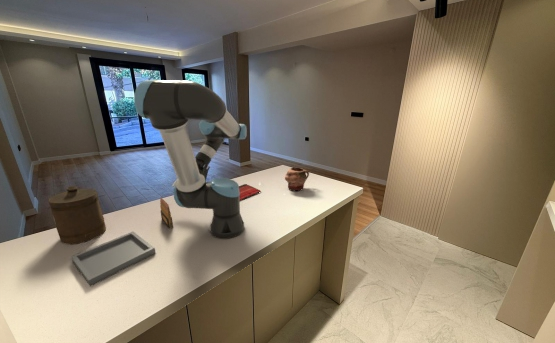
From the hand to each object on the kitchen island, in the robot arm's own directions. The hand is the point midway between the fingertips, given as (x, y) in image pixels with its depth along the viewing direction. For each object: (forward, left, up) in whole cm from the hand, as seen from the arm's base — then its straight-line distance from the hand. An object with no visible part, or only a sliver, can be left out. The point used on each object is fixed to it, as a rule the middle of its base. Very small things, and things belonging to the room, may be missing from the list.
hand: (181, 190), depth 108 cm
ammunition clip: (-1, +9, -14) cm, 17 cm away
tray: (-9, +33, -13) cm, 37 cm away
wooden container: (+18, +35, -14) cm, 42 cm away
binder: (-3, -39, -14) cm, 41 cm away
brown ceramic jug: (-26, -69, -14) cm, 74 cm away
